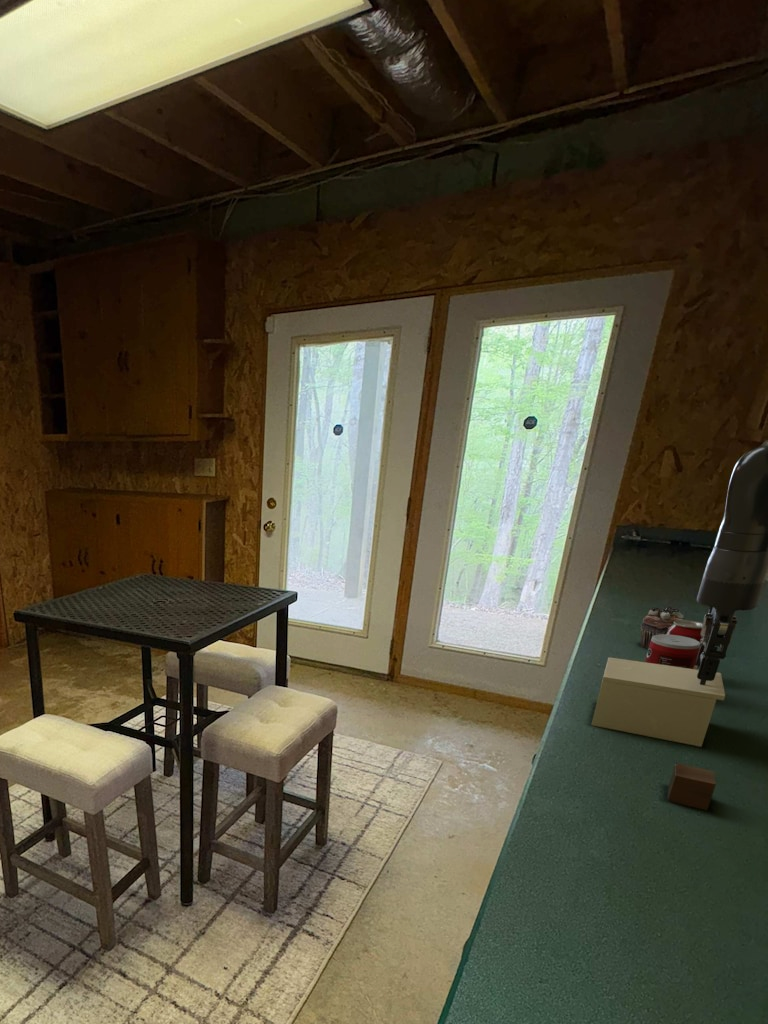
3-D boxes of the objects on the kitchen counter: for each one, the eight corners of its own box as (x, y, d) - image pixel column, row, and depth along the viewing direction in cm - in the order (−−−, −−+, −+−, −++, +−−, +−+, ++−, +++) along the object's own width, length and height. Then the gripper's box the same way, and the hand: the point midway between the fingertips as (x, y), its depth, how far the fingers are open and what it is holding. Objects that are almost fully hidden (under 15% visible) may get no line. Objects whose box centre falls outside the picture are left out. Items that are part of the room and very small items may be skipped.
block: (667, 789, 93) (675, 763, 91) (705, 797, 90) (714, 771, 89) (667, 802, 90) (675, 775, 88) (706, 811, 87) (715, 784, 86)
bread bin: (698, 721, 114) (712, 676, 110) (701, 747, 104) (716, 699, 101) (597, 703, 123) (607, 661, 119) (591, 726, 113) (602, 681, 110)
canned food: (659, 682, 131) (674, 632, 127) (695, 696, 124) (712, 644, 120) (628, 686, 130) (641, 635, 126) (662, 700, 123) (677, 647, 119)
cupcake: (663, 656, 146) (675, 615, 143) (626, 644, 155) (636, 605, 152) (695, 652, 148) (707, 611, 145) (657, 640, 157) (667, 601, 154)
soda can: (700, 684, 130) (717, 629, 126) (661, 681, 132) (676, 626, 128) (688, 673, 136) (704, 620, 131) (651, 670, 138) (665, 618, 134)
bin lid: (719, 677, 110) (728, 648, 108) (723, 700, 101) (734, 669, 99) (607, 661, 119) (614, 634, 117) (602, 680, 110) (609, 651, 108)
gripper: (770, 588, 93) (736, 690, 99) (760, 571, 103) (729, 664, 109) (705, 582, 97) (676, 681, 103) (702, 567, 107) (676, 657, 114)
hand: (704, 672), depth 106 cm, fingers open, 7 cm apart
